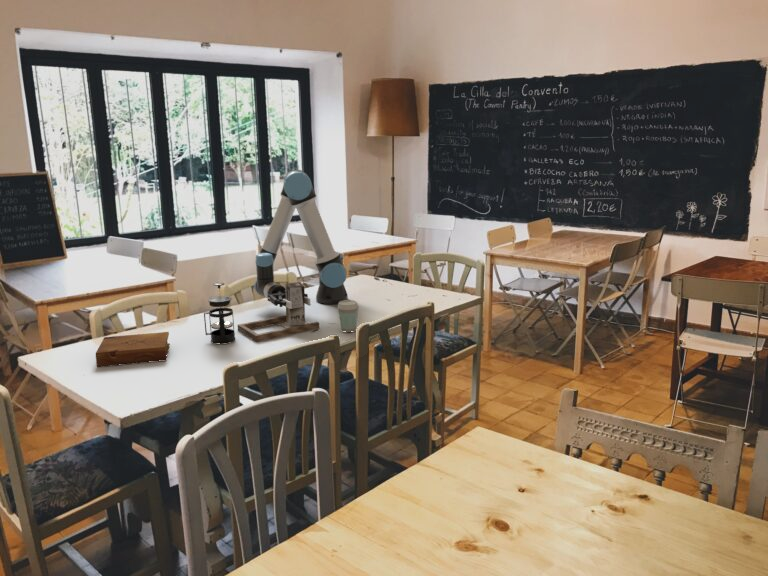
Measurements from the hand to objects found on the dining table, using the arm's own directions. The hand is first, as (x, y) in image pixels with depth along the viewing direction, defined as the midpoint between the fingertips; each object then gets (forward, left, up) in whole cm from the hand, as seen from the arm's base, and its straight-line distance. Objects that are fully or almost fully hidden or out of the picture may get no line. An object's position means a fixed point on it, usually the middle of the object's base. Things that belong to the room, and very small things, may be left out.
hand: (300, 303), depth 259 cm
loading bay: (+8, -5, -11) cm, 14 cm away
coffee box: (0, -5, -9) cm, 11 cm away
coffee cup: (-14, +14, -11) cm, 23 cm away
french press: (+32, -6, -11) cm, 34 cm away
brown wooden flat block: (+64, -9, -11) cm, 66 cm away
